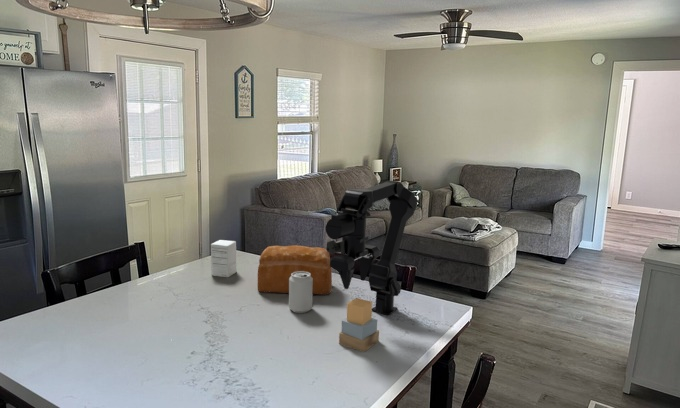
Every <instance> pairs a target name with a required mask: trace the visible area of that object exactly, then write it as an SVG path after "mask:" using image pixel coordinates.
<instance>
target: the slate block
mask: <svg viewBox="0 0 680 408" xmlns="http://www.w3.org/2000/svg"><path fill="white" fill-rule="evenodd" d="M377 330H378V319H377V318H374V317H371V320H369V321H368V322H366V323H365V324H364V325H361V324H357V323H353V322H349V321H347V317H346V318H344V319H342V320H341V331H340V332H341V333H344V334H347V335H350V336H353V337H355V338H358V339H361V340H363V339H365V338H366V337H368V336H370V335H372V334H373V333H375V332H377Z"/></svg>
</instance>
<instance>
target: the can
mask: <svg viewBox="0 0 680 408" xmlns="http://www.w3.org/2000/svg"><path fill="white" fill-rule="evenodd" d="M312 290H313V278H312V277H311V274H310V273H309V272H304V271H298V272H294V273H292V274H291V277H290V278H289V293H288V308H289V309H290V311H292V312H294V313H297V314H304V313H307V312H309V311H310V310H312V308H313V294H312Z"/></svg>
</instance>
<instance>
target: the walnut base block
mask: <svg viewBox="0 0 680 408" xmlns="http://www.w3.org/2000/svg"><path fill="white" fill-rule="evenodd" d="M338 335H339V336H338V344H339V345H340V346H344V347H348V348H349V349H354V350H357V351H360V352H363V353H365V352H366V351H368V349H370V348H372V347H373V346H374V345H376V344H377V343H378V342H379V341H380V340H379V339H380V337H379V335H380V330H379V329H377V332H375V333H373V334H372V335H370V336H368V337H366V338H365V339H363V340H361V339H358V338H355V337H353V336H350V335H347V334H344V333H341V331H340V332H339V333H338Z"/></svg>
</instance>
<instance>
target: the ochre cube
mask: <svg viewBox="0 0 680 408" xmlns="http://www.w3.org/2000/svg"><path fill="white" fill-rule="evenodd" d="M372 308H373V301H372V300H367V299H362V298H358V297H355V298H354V299H352V300H351V301H349V302H348V303H346V318H347V321H349V322H353V323H357V324H361V325H364V324H365V323H366V322H368V321H369V320H371V318H373V314H372V313H373V311H372Z"/></svg>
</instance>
